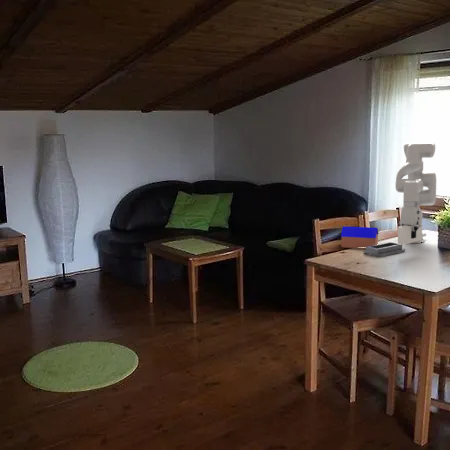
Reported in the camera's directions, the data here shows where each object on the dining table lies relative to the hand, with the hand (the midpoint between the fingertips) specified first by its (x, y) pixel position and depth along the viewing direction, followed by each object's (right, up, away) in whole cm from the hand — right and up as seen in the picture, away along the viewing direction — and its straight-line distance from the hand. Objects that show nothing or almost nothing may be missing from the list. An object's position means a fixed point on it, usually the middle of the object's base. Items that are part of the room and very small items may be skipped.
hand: (409, 237), depth 295 cm
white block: (0, -2, 0) cm, 2 cm away
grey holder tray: (-11, -9, +9) cm, 17 cm away
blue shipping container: (-20, -6, +28) cm, 35 cm away
